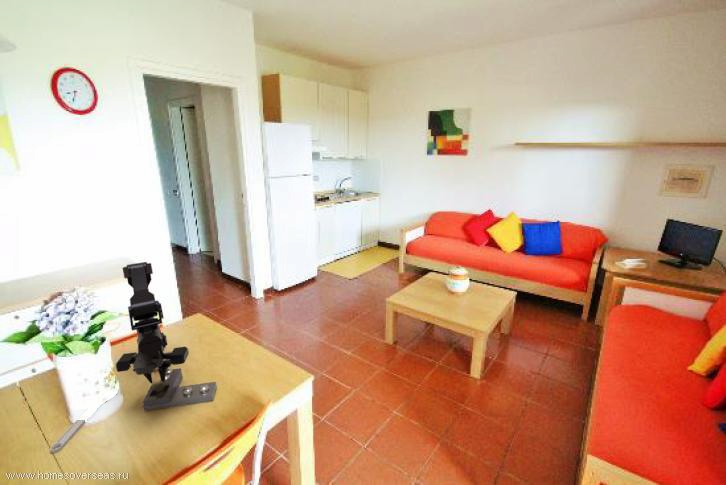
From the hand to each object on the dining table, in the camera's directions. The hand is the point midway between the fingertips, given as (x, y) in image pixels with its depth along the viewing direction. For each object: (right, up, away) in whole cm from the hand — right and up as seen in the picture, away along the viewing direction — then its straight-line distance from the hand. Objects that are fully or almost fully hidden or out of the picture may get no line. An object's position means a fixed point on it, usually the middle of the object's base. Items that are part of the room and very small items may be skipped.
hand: (158, 381), depth 109 cm
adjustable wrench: (-19, -9, -4) cm, 22 cm away
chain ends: (+5, -6, +6) cm, 10 cm away
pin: (0, -2, +1) cm, 3 cm away
